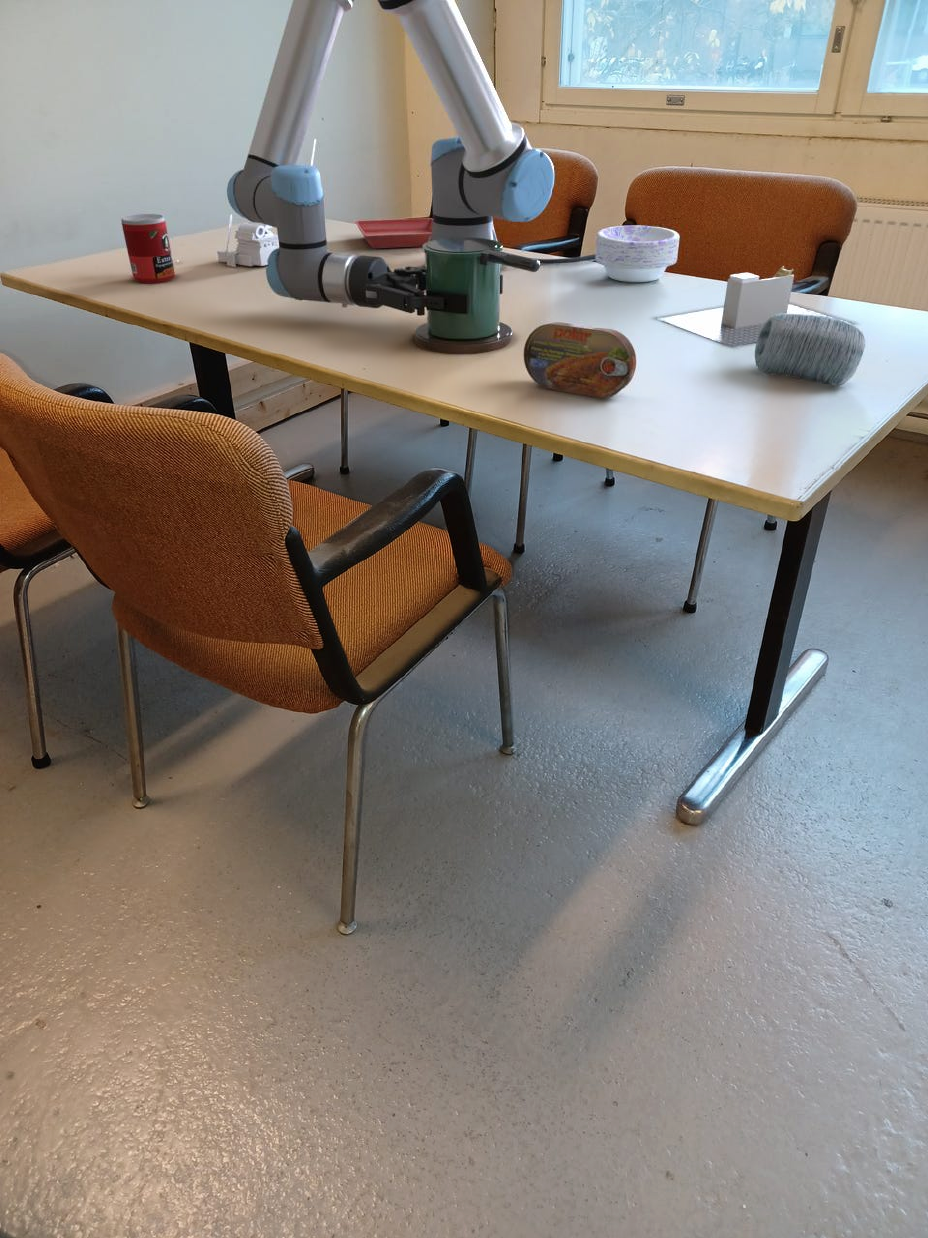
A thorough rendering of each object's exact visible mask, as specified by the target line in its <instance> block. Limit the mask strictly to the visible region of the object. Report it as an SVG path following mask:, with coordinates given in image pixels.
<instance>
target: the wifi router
mask: <svg viewBox="0 0 928 1238" xmlns="http://www.w3.org/2000/svg"><path fill="white" fill-rule="evenodd" d="M316 144H317V139H316V138H314V141H313V146H312V154H311V161H310V165H311V166H314V159H315V152H316ZM233 217H234V215H233V214H230V215H229V223H228V232H227V240H226V241H227V242H226V249H220V250H218V251H217V252H216V253H217V257H218V261H219V262H223V263H226V265H227V267H233V268H236V267H237V266H236V265H240V266H246V267H253V266H260V267H262V266H268V263H267V260H268V257H269V255H270V254H271V252H272V251H273V250H275V249H277V248H279V241H278V233H273V232H272V231H271V230H270V229H272V228H273V227H272V226H269V225H266V224H262V223H256V222H251V221H249V222H248V223H246V222H242V223H240V224H239V225H238V228H237V230H235V234H234V238H235V239H237V240H236V242H237V244H236V248H235V250H234V251H232V250H229V242H230V238H231V229H232V224H233ZM177 262H179V260H178V259H177Z"/></svg>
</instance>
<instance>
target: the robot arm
mask: <svg viewBox="0 0 928 1238" xmlns="http://www.w3.org/2000/svg"><path fill="white" fill-rule="evenodd" d="M354 2H355V0H292V3H291V5H290V10H289V13H288V17H287V20H286V23H285V27H284V30H283V34H282V37H281V40H280V43H279V47H278V49H277V54H276V58H275V62H274V64H273V68H272V70H271V73H270V74H271V75H270V78H269V81H268V85H267V88H266V91H265V95H264V99H263V102H262V106H261V109H260V113H259V116H258V118H257V122H256V126H255V130H254V133H253V136H252V140H251V143H250V146H249V150H248V154H247V157H246V159H245V164H244V166H243V169H240V170H237V171H236V172H235V173H234V174H232V176H231V177H230V179H229V180H228V183H227V187H226V196H227V197H226V198H227V200H228V203H229V205H230V207H231V209H232V210H233V211H234V212H235V213H236V214H237V215H238V216H240V217H242V218H243V219H247V221H249V222H256V223H262V224H266V225H269V226H272V228H276V232H277V233H276V234H277V236H278V241H279V248H277V249H275V250H273V251H272V252H271V254H270V255H269V257H268V260H267V263H268V265H267V268H266V269H265V276H266V280H267V283H268V285H269V286H268V287H270V289H271V290H272V291H273V292H274V293H275V294H276V295H278V296H280V297H284V298H289V299H294V300H296V301H297V300H298V301H309V302H320V303H330V304H340V305H341V307H342V308H346V309H347V308H348V307H349V306H358V307H360V308H368V309H369V308H370V309H379V308H382V307H388V308H392V309H393V310H398V311H402V312H405V313H407V314H413V313H415V312H416V316H419V317H420V316H421V317H422V316H425V315H426V311H427V310H432V311H441V312H450V313H459V314H469V294H467V293H458V292H448V291H438V290H429V289H428V290H426V272H425V267H418V266H417V267H416V266H410V265H409V266H405V267H404V268H395V269H393V271H392V270H391V269H390V267H389V265H388V263H387V261H386V260H385V258H382V257H381V256H374V255H366V254H365V255H363V254H362V255H361V254H360V255H359V254H356V253H344V252H343V253H342V252H330V251H328V241H327V230H326V218H325V204H324V201H325V200H324V198H325V194H324V190H323V187H322V180H321V179H322V178H321V173H320V171H319V169H318V168H317V167H316V166H314V165H312V166H311V164H300V163H299V164H297V162H298V159H299V156H300V152H301V149H302V146H303V143H304V139H305V136H306V133H307V130H308V127H309V123H310V120H311V117H312V114H313V111H314V108H315V104H316V101H317V98H318V95H319V91H320V88H321V85H322V82H323V78H324V76H325V72H326V69H327V65H328V61H329V59H330V56H331V53H332V51H333V47H334V43H335V39H336V37H337V34H338V31H339V27H340V24H341V20H342V18H343V15H344V14H345V13H347V12H349V11H351V10H352V8H353V5H354ZM377 2H378V4H379V6H380V8H381V9H382V11H384V12H386V13H390V14H393V15H396V16H397V18H398V20H399V22H400V24H401V26H402V28H403V31H404V32H405V34H406V36H407V38H408V40H409V42H410V44H411V47H412V48H413V50H414V51H415V54H416V56H417V58H418V59H419V61H420V63H421V65H422V67H423V69H424V71H425V73H426V76H427V77H428V80H429V81H430V83H431V85H432V87H433V89H434V91H435V94H437V97H438V99H439V100H440V102H441V104H442V105H441V106H443V109H444V111H445V113H446V114H447V116H448V119H449V120H450V122H451V124H452V126H453V128H454V130H455V132H456V134H457V136H458V137H449V138H442V139H437V140H435V141H434V142H433V144H432V146H431V156H430V169H431V170H430V171H431V193H432V195H431V197H432V219H433V229H432V233H431V237H429V241H428V242H430V241H433V240H438V239H445V238H461V237H468V238H484V239H490V240H495V241H498V239H497V235H496V231H495V228H494V218H495V219H500V220H504V221H508V222H511V223H515V222H520V223H527V222H530V221H531V222H532V221H533V220H534V219H536V218H538V216H540V215H541V214H542V213H543V211H544V210H545V209H546V207H547V206H548V204H549V202H550V200H551V197H552V193H553V192H552V191H553V189H554V186H555V169H554V164H553V162H552V160H551V158H550V156H548V154H547V153H546V152H544V151H543V150H541V149H538V148H534V149H533V148H532V146H531V144H530V142H529V139H528V137H527V135H526V133H525V130H524V128H523V126H521V125H520V124H519V123H517V122H512V121H510V120H509V118H508V115H507V113H506V111H505V108H504V107H503V105H502V102H501V100H500V98H499V95H498V93H497V91H496V90H495V87H494V85H493V83H492V80H491V77H490V76H489V73H488V71H487V69H486V67H485V65H484V62H483V61H482V59H481V56H480V54H479V52H478V50H477V47H476V45H475V43H474V41H473V39H472V36H471V34H470V32H469V30H468V27H467V25H466V23H465V21H464V19H463V17H462V15H461V12H460V10H459V8H458V6H457V4H456V2H455V0H377ZM595 255H596V253H595V254H589V255H588V254H587V255H583V256H577V257H568V258H566V257H565V258H532V257H530V258H531V259H536V260H538V261H539V263H540V265H542V264H543V265H554V264H571V263H580V262H586V261H590V260H595ZM500 269H502V264H500ZM503 289H504V275H503V274H500V295H502V294H503V293H504V292H503ZM425 308H426V311H425Z"/></svg>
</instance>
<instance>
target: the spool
mask: <svg viewBox="0 0 928 1238" xmlns="http://www.w3.org/2000/svg"><path fill="white" fill-rule="evenodd" d="M833 318H834V317H833ZM833 318H828V317H824V316H818V315H805V314H784V313H779V314H775V315H773V316H771V317H770V318H769V319H768V320H767V321H766V323H765V324H764V326H763V328H762V329H761V331H760V334H759V336H758V339H757V342H755V343H756V344H755V348H754V362H755V365H756V367H757V369H758V370H759V371H761V372H763V373H765V374H767V375H771V374H775V375H777V376H778V375H779V376H787V377H791V378H792V377H793V378H796V379H797V378H798V379H801V380H807V381H811V382H815V383H822V384H824V385H832V386H843V385H845V384H846V383H847V382H848V381H849V380H850V379H851V378H853V377H854V375H855V374H856V371H857V370H858V367H859V365H860V363H861V361H862V357H863V354H864V352H865V350H866V349H865V348H866V338H865V335H864V333H863V331H862V330H861V329H860V328H859V327H857V326H856V325H854V324H849V323H850V322H849V323H847V322H848V321H846V322H844V321H845V320H842V319H839V318H836V319H833Z"/></svg>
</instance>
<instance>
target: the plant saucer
mask: <svg viewBox="0 0 928 1238" xmlns="http://www.w3.org/2000/svg"><path fill="white" fill-rule="evenodd" d="M355 224H356V226H357V227H358V229H359V231H360V232H361V234H362V236H363V237H364V238H365V240H366V242H367V243H368V244H369V246H370V247H371V248H372V249H391V248H395V249H396V248H417V247H418V248H420V247H423V245H424V244H425V243H427V242H428V241H429V237H431V233H432V229H433V217H432V218H431V217H428V218H425V217H423V218H400V219H399V218H398V219H375V220H374V219H372V220H356V221H355Z"/></svg>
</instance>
